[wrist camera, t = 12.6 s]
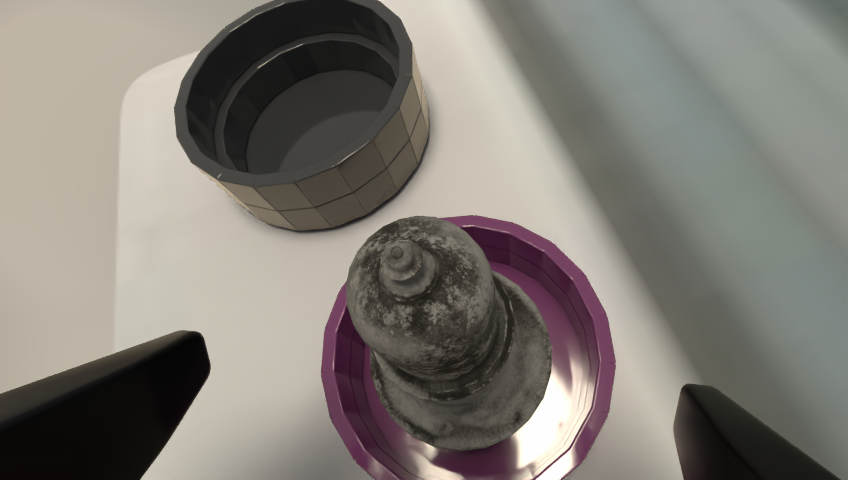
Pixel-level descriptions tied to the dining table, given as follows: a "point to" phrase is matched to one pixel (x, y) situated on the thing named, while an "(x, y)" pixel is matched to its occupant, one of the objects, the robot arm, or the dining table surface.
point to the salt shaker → (447, 335)
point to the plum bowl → (553, 419)
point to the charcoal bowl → (306, 111)
